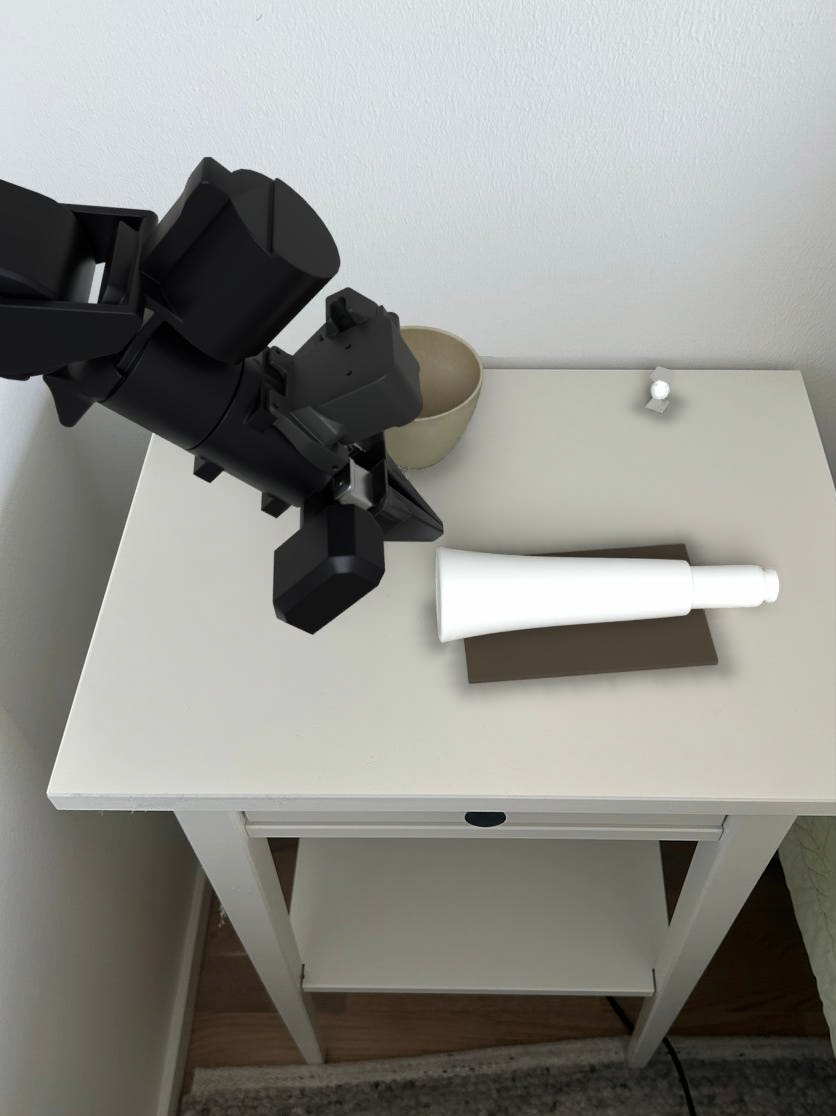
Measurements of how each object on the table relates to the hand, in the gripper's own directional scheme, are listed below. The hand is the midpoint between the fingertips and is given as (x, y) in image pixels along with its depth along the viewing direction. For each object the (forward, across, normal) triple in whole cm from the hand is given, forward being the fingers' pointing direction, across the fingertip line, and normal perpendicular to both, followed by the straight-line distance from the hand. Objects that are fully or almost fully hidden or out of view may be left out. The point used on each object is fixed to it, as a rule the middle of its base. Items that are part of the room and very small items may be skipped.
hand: (438, 533), depth 59 cm
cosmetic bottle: (+4, 0, +4) cm, 6 cm away
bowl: (+6, +16, +7) cm, 19 cm away
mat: (+13, 0, 0) cm, 13 cm away
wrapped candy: (+19, +20, -7) cm, 28 cm away
